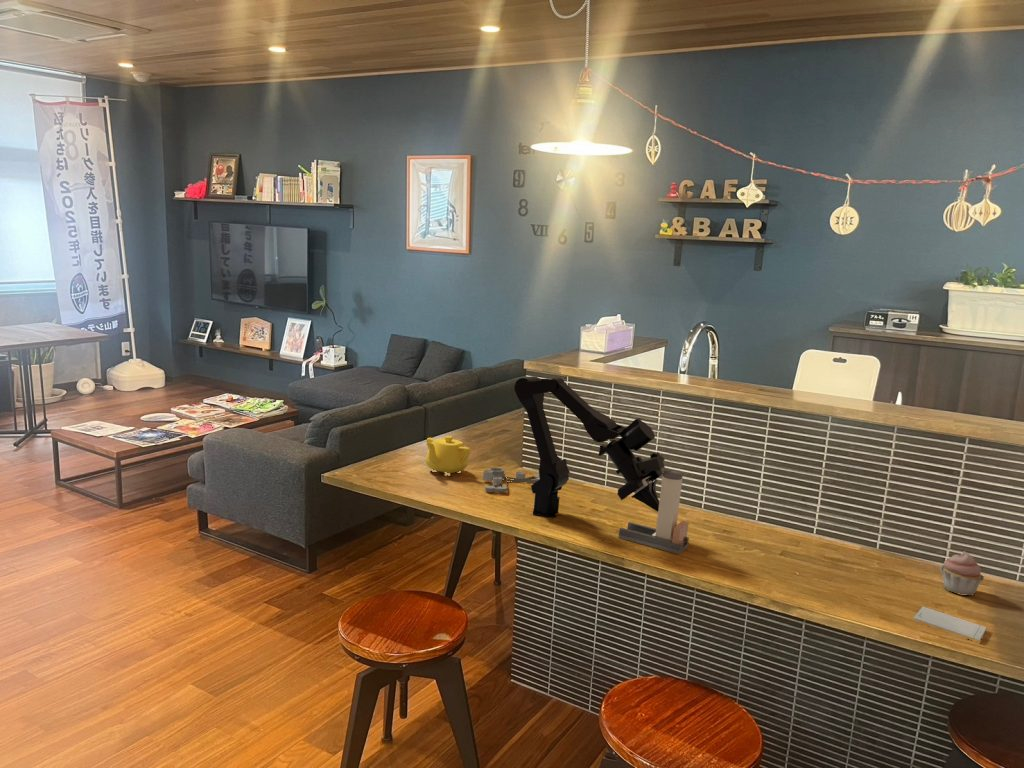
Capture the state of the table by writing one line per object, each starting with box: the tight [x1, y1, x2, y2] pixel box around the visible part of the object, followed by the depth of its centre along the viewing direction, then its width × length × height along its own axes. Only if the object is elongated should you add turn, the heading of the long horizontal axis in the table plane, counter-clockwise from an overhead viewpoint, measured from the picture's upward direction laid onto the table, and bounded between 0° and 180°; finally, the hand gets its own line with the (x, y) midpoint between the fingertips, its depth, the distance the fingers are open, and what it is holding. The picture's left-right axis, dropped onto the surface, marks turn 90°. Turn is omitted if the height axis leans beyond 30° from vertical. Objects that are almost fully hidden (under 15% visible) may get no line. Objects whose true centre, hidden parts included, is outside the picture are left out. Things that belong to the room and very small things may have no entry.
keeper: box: [652, 469, 683, 541], centre depth 192 cm, size 6×5×18 cm
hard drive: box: [912, 606, 988, 641], centre depth 160 cm, size 2×8×12 cm
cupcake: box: [939, 550, 985, 595], centre depth 179 cm, size 9×9×10 cm
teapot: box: [425, 435, 471, 474], centre depth 243 cm, size 14×14×12 cm
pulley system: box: [482, 467, 540, 493], centre depth 237 cm, size 27×5×15 cm
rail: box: [617, 520, 690, 555], centre depth 195 cm, size 16×7×6 cm, turn 59°
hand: (659, 510), depth 194 cm, fingers closed, pressing on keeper
